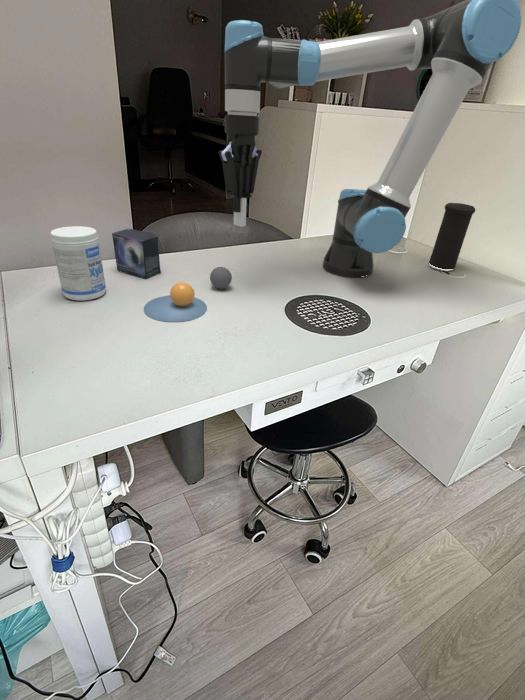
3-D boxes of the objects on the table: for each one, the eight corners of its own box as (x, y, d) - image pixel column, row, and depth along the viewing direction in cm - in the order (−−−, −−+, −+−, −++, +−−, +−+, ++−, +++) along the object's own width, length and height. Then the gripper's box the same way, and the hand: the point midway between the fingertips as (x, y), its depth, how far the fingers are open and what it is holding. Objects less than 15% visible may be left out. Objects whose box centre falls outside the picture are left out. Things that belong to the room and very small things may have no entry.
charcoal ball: (221, 269, 95) (219, 291, 96) (237, 268, 99) (235, 289, 100) (206, 265, 98) (204, 286, 100) (222, 264, 102) (220, 285, 104)
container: (457, 267, 129) (478, 204, 118) (452, 274, 122) (474, 208, 112) (430, 261, 132) (448, 199, 122) (424, 268, 126) (443, 203, 115)
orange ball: (181, 290, 84) (183, 313, 87) (198, 282, 88) (200, 304, 91) (163, 283, 86) (166, 306, 90) (181, 276, 90) (183, 297, 93)
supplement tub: (104, 301, 89) (94, 237, 82) (59, 303, 87) (44, 237, 79) (108, 285, 97) (99, 225, 90) (67, 286, 95) (54, 225, 87)
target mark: (219, 307, 90) (219, 306, 90) (174, 328, 80) (174, 327, 80) (176, 291, 97) (176, 290, 97) (130, 308, 87) (130, 307, 87)
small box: (115, 271, 106) (109, 232, 100) (132, 265, 111) (128, 227, 105) (145, 280, 102) (141, 240, 97) (161, 273, 107) (159, 234, 102)
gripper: (246, 114, 91) (244, 218, 103) (208, 112, 81) (210, 226, 94) (273, 116, 87) (267, 223, 99) (236, 114, 78) (234, 232, 90)
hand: (239, 225), depth 96 cm, fingers closed
